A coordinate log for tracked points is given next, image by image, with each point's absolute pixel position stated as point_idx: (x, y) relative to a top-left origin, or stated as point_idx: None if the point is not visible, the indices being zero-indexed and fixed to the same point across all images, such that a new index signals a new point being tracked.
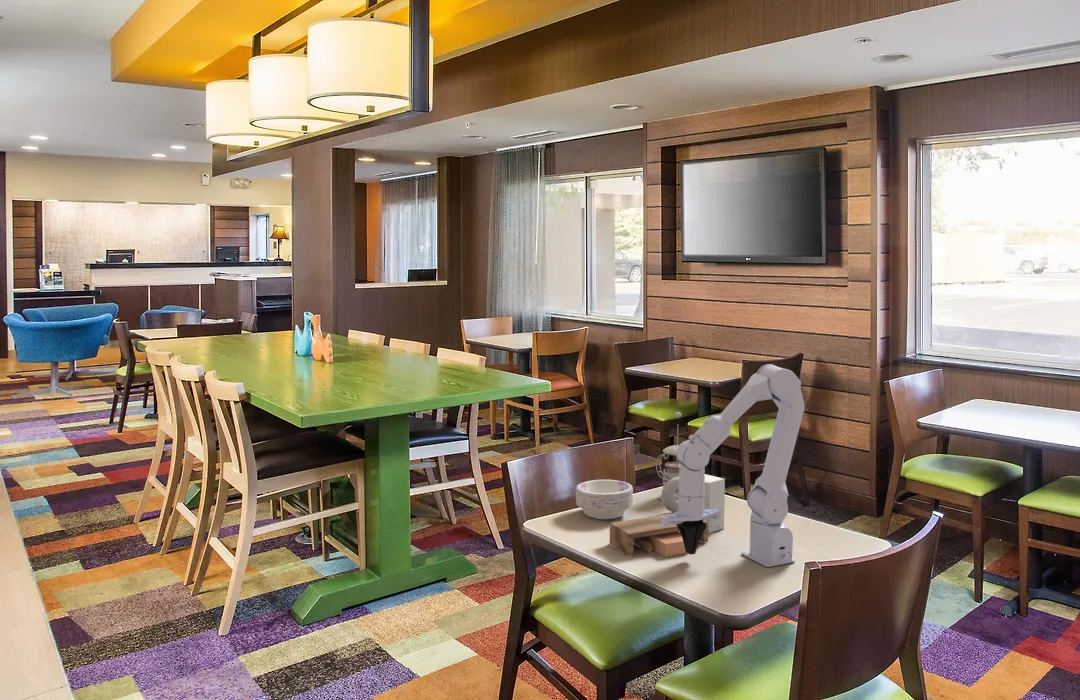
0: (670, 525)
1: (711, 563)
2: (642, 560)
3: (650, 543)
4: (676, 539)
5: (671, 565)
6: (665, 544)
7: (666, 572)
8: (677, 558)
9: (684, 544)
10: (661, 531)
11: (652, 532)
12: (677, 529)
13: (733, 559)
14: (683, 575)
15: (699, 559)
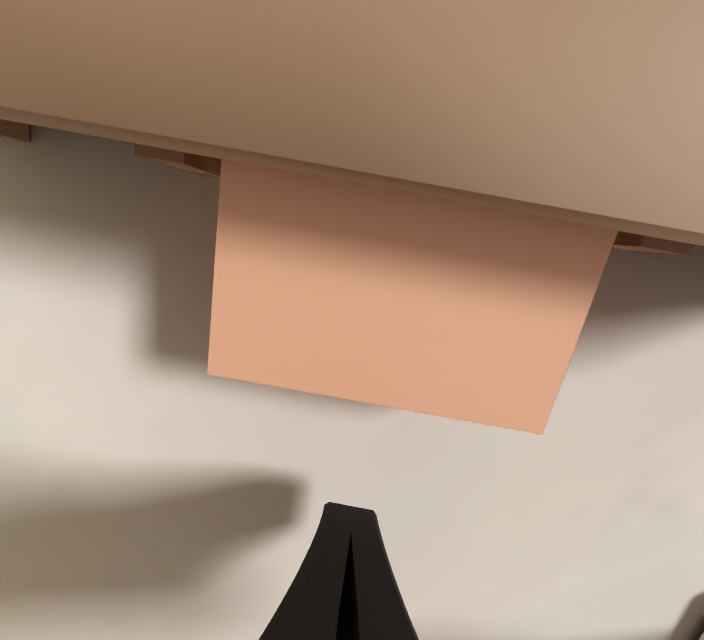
0: (582, 78)
1: (429, 577)
2: (48, 287)
3: (167, 150)
4: (413, 334)
5: (185, 468)
6: (211, 362)
7: (89, 525)
8: (308, 403)
9: (308, 554)
10: (270, 162)
11: (79, 125)
12: (599, 226)
13: (599, 607)
14: (153, 599)
15: (423, 497)
